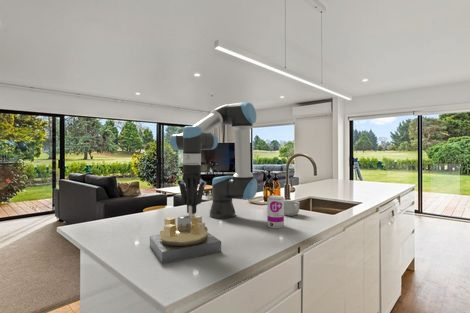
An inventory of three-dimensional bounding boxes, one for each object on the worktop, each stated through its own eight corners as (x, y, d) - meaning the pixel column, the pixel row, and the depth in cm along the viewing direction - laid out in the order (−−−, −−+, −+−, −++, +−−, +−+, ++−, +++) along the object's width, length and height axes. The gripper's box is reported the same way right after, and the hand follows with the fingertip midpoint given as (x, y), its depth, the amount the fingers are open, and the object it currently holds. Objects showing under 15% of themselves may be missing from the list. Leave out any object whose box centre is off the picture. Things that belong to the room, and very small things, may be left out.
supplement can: (283, 228, 131) (283, 198, 130) (266, 228, 132) (266, 197, 132) (284, 224, 138) (284, 195, 138) (268, 223, 140) (267, 194, 140)
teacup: (279, 213, 165) (279, 200, 165) (296, 212, 166) (296, 199, 165) (285, 218, 151) (285, 204, 151) (304, 218, 152) (304, 203, 152)
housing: (149, 245, 108) (149, 235, 108) (201, 237, 118) (201, 227, 118) (161, 263, 90) (161, 251, 90) (221, 251, 101) (221, 240, 101)
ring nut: (160, 232, 111) (160, 213, 111) (204, 229, 115) (204, 210, 115) (159, 247, 93) (158, 224, 93) (210, 243, 98) (210, 221, 97)
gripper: (173, 164, 110) (173, 221, 110) (201, 165, 105) (200, 225, 105) (183, 163, 117) (183, 217, 117) (210, 164, 112) (209, 220, 112)
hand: (191, 221), depth 111 cm, fingers closed
